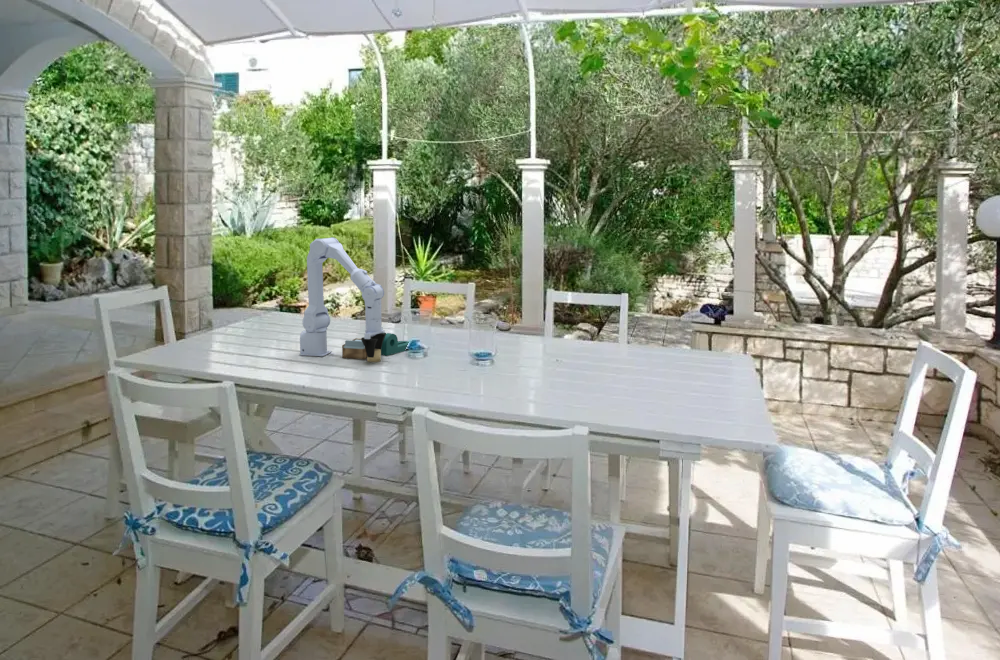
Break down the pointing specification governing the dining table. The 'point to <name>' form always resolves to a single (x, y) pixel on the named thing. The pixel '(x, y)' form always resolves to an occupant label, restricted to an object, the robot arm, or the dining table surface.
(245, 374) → the dining table surface
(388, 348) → the bracket
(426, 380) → the dining table surface
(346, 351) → the pencil box
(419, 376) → the dining table surface
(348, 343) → the lid
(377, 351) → the tape roll
